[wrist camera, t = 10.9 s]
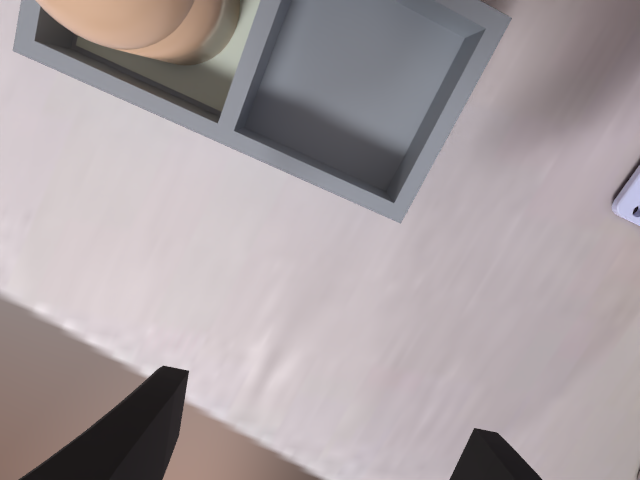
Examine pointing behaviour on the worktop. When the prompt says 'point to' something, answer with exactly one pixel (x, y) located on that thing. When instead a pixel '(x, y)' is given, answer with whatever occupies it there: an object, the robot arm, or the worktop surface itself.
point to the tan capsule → (152, 26)
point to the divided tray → (308, 86)
